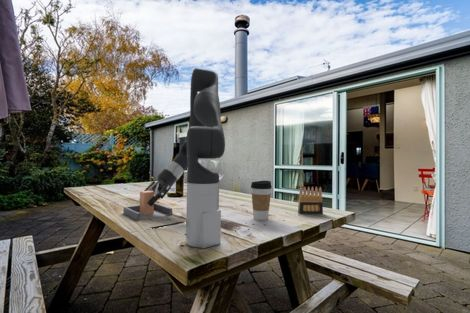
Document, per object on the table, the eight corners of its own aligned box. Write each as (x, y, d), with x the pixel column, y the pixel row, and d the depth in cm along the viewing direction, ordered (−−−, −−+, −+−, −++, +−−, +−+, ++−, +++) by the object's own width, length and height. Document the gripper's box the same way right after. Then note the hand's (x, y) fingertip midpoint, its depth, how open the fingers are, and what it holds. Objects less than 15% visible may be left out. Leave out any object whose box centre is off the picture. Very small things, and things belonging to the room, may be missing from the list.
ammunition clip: (299, 214, 109) (299, 186, 109) (297, 213, 111) (298, 186, 111) (322, 213, 110) (323, 186, 110) (321, 212, 112) (321, 186, 112)
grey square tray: (172, 217, 100) (172, 208, 100) (137, 223, 91) (137, 213, 91) (156, 210, 111) (156, 203, 111) (123, 215, 102) (123, 207, 102)
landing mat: (183, 223, 92) (183, 221, 92) (152, 229, 84) (152, 227, 84) (171, 218, 98) (171, 217, 98) (141, 223, 90) (141, 222, 90)
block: (153, 213, 101) (154, 191, 101) (144, 215, 99) (144, 192, 99) (149, 211, 105) (149, 190, 105) (139, 213, 102) (139, 191, 102)
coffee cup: (275, 220, 98) (275, 182, 98) (256, 221, 95) (256, 182, 95) (265, 215, 106) (265, 180, 106) (246, 216, 103) (247, 180, 103)
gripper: (158, 167, 112) (132, 195, 105) (173, 169, 102) (145, 199, 94) (168, 178, 116) (144, 206, 108) (184, 181, 105) (158, 211, 98)
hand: (144, 203), depth 101 cm, fingers open, 8 cm apart
